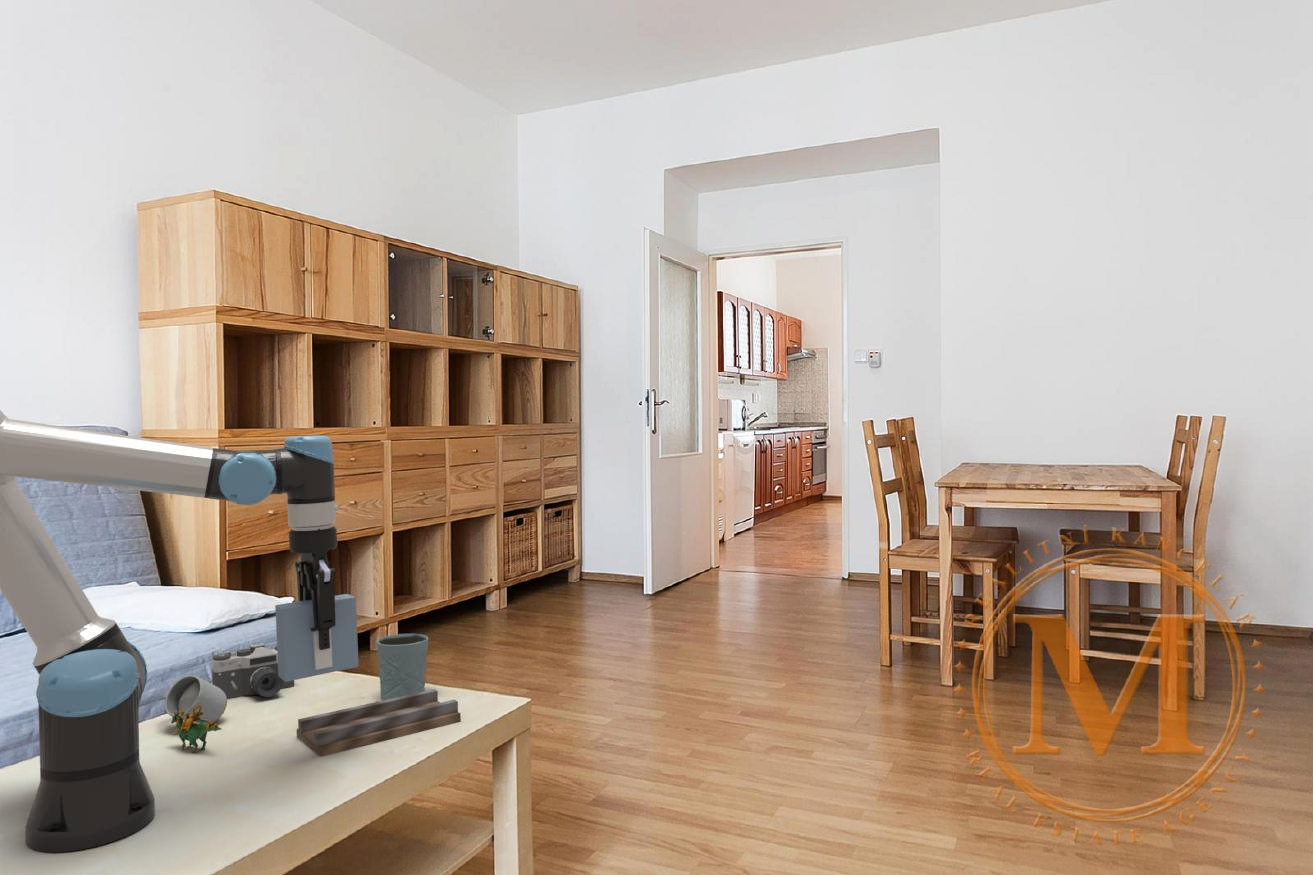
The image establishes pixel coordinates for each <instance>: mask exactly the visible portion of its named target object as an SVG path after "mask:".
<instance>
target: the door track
mask: <svg viewBox="0 0 1313 875" xmlns="http://www.w3.org/2000/svg"><path fill="white" fill-rule="evenodd" d="M438 692H439V691H438V690H437V689H434V688H433V689H430V690H425V691H424V692H419V693H415V694H410V695H406V696H401V697H396V698H392V699H387V700H383V701H382V700H380V701H374V702H370V703H366V704H360V705H356V706H353V707H352V706H351V707H348V708H343V709H338V710H334V711H329V712H325V713H320V714H315V715H313V716H307V717H302V718H298V720H297V721H298V723H297V727H298V728H296V738H298V740H300V741H301V742H302V743H304V745H305V746H307V747H308V749H310V750H311V751H312V752H314V753H315V754H316V756H318V757H324V756H328V755H332V754H336V753H341V752H343V751H347V750H352V749H355V748H360V747H364V746H368V745H372V744H375V743H380V742H383V741H387V740H392V739H396V738H400V737H403V736H408V735H411V734H414V733H415V734H416V733H419V732H423V731H427V730H430V729H435V728H439V727H443V726H447V725H451V724H455V723H459V722H461V717H462V716H461V712H459V703H458V702H459V701H457V699H452V700H445V701H441V702H440V701H439V700H438V697H439V696H438V695H439V694H438Z"/></svg>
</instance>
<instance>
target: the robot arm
mask: <svg viewBox="0 0 1313 875" xmlns="http://www.w3.org/2000/svg"><path fill="white" fill-rule="evenodd" d="M333 454H334V451H333V443H332V440H331V438H329V436H327V435H305V436H303V435H301V436H288V437H286V438H285V440H284V444H283V448H282V447H281V448H276V449H253V450H252V449H251V450H250V449H245V450H232V449H225V448H216V447H212V446H211V447H209V446H202V445H197V444H189V443H183V442H174V441H167V440H162V439H161V440H160V439H152V438H148V437H146V438H145V437H139V436H132V435H126V434H119V433H118V434H117V433H111V432H104V431H95V430H89V429H81V428H74V427H68V426H63V425H61V426H60V425H55V424H46V423H41V422H32V421H25V420H18V419H11V418H8V417H7V416H6V415H5V414H4V412H3V411H2V410H0V591H1V593H2V595H3V596H4V598H5V599H6V601H7V602H8V604H9V606H10V607H11V609H12V611H13V612H14V614H15V615H16V616H17V618H18V620H19V622H20V623H21V625H22V626H23V627H24V628H23V629H25V631H26V633H27V634H28V636H29V637H30V639H31V640H32V642H33V643H34V645H35V646H36V648H37V649H36V654H35V656H34V658H33V662H32V665H33V667H34V669H35V671H37V674H38V675H39V676H38V681H37V682H38V684H37V688H36V692H35V693H36V695H35V696H36V699H37V703H38V732H39V733H38V735H39V736H38V739H39V740H38V741H39V742H38V743H39V746H38V747H39V767H40V768H39V770H40V771H39V772H40V773H39V774H40V776H39V777H40V779H39V784H38V788H37V790H36V793H35V797H34V799H33V802H32V806H31V808H30V811H29V814H28V817H27V820H26V823H25V843H26V846H28V848H31V849H32V850H35V851H39V852H45V853H46V852H47V853H48V852H49V853H64V852H72V851H73V852H74V851H80V850H85V849H89V848H90V849H92V848H94V847H95V848H96V847H99V846H102V845H106V844H109V843H112V842H115V841H118V840H120V839H123V838H125V837H128V836H131V834H134V833H136V832H137V831H139V830H141V829H142V828H144V827H146V825H148V824H149V823H150V822H151V821H152V820H153V819H154V817H155V814H156V810H155V809H156V807H155V806H156V805H155V804H156V803H155V796H154V793H153V791H152V788H151V786H150V784H149V782H148V779H147V777H146V774H145V771H144V769H143V767H142V765H141V762H140V732H139V731H140V728H139V721H140V718H139V708H140V703H141V702H140V701H141V699H142V696H143V692H144V691H145V687H146V684H147V681H148V669H147V663H146V659H145V658H144V655H143V654H142V652H141V651H140V650H139V649H138V647H136V645H134V644H132V643H131V642H130V641H128V640H127V638H126V636H125V635H124V633H123V632H122V630H121V628H120V626H119V625H118V624H117V622H116V620H115V619H112V618H111V619H110V618H105V617H102V616H99V615H98V613H97V612H96V610H95V608H94V607H93V605H92V603H91V601H90V600H89V598H88V596H87V595H86V593H85V592H84V590H83V588H82V587H81V585H80V583H79V582H78V581H77V578H76V577H75V576H74V574H73V572H72V571H71V568H70V567H69V566H68V564H67V563H66V560H65V559H64V557H63V556H62V554H61V553H60V551H59V549H58V548H57V545H55V543H54V541H53V539H52V538H51V536H50V535H49V533H48V532H47V530H46V528H45V527H44V525H43V523H42V522H41V519H40V518H39V517H38V515H37V513H36V512H35V510H34V509H33V507H32V505H31V503H30V502H29V500H28V499H27V497H26V495H25V494H24V492H23V490H22V488H21V487H20V486H19V484H18V482H17V480H16V478H17V477H18V478H25V479H26V478H27V479H33V480H34V479H36V480H43V481H51V482H52V481H53V482H63V483H71V484H78V485H79V484H80V485H87V486H95V487H105V488H114V489H123V490H124V489H125V490H132V491H133V490H134V491H140V492H141V491H142V492H150V493H159V494H166V495H167V494H169V495H176V496H177V495H178V496H184V497H185V496H186V497H193V498H194V497H195V498H202V499H203V498H204V499H209V500H218V501H226V502H232V503H234V504H235V505H236V504H237V505H241V506H242V505H245V506H246V505H247V506H253V505H256V504H259V503H261V502H262V501H263V500H265V499H266V498H268V497H269V496H270V495H271V496H272V495H283V494H285V495H286V497H287V504H286V505H287V506H286V507H287V508H286V509H287V525H288V527H290V528H291V529H290V531H289V532H288V543H289V547H288V548H289V551H290V552H291V553H292V554H293V553H294V554H300V561H299V560H298V561H295V563H294V567H295V571H296V572H295V573H296V578H297V579H296V580H297V582H296V583H297V599H298V600H297V602H299V601H306V600H312V604H313V614H314V623H315V628H310V629H311V632H313V645H314V667H315V670H318V669H323V668H327V667H332V645H331V628H332V627H334V626H335V625H336V622H335V596H336V595H335V594H336V593H335V592H336V591H335V577H336V569H335V568H333V567H332V568H331V563H330V560H329V559H328V554H327V553H328V552H329V551H334V550H335V549H337V547H338V531H337V528H336V526H333V525H335V524H336V522H337V517H336V513H337V512H336V511H338V510H339V506H338V505H337V504H336V489H335V487H336V486H335V484H336V483H335V481H336V480H335V461H334V455H333Z"/></svg>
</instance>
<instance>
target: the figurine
mask: <svg viewBox="0 0 1313 875" xmlns="http://www.w3.org/2000/svg"><path fill="white" fill-rule="evenodd" d="M198 707H199V712H195V710H196V708H198ZM201 709H202V706H201V705H197V706H195V707H194V709H193V714H192V715H191V716H190V717H189V713H187V714H185V717H186V719H185V720H183V718H182V717H181V716H183V714H184V711H183V709H181V710H180V711H179V712H178V711H175V712H174V716H173V717H172V716H171V718H172V720H171V721H170V722H171V724H175V723H176V724H175V725H176V727H175V731H176V732H174V733H172V734H171V735H173V736H176V735H178V738H179V739H180V741H181V742H182V744H181V749H182V750H181V751H184V750H185V749H186V747H187V746H186V745H187V744H186V742H185V741H188V742H189V744H188V748H191V747H192V746H193V747H194V750H193V752H194V753H193V754H198V753H197V752H198V750H200V751H206V745H207V740H206V738H207V736H208V732H217V731H221V730H222V729H223V728H222V727H219V725H218V724H217V723H213V722H211V721H209V720H205V719H201V718H199V716H200V715H203V713H204V712H200V711H201ZM176 712H177V713H176ZM175 713H176V714H175ZM179 714H181V716H179ZM196 714H197V715H196ZM202 721H203V722H202ZM207 721H209V722H208V724H206V723H204V722H207ZM213 724H214V725H213ZM197 740H199V741H201V742H202V746H201V748H198V747H199V745H198V743H197ZM195 752H196V753H195Z"/></svg>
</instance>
